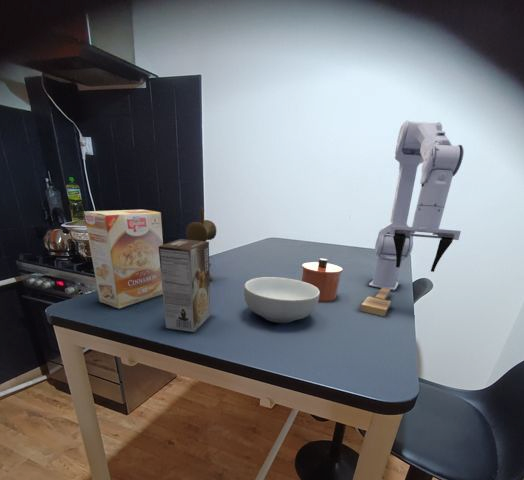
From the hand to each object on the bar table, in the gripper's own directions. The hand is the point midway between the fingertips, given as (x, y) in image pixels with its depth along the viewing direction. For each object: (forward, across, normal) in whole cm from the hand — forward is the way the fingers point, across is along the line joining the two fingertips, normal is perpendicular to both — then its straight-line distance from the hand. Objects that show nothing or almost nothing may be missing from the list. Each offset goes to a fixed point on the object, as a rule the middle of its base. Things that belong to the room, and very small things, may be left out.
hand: (414, 269), depth 76 cm
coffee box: (+14, -39, -36) cm, 55 cm away
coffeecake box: (+12, -59, -32) cm, 68 cm away
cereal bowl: (+13, -25, -21) cm, 35 cm away
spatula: (+10, -7, +4) cm, 13 cm away
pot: (+10, -23, 0) cm, 25 cm away
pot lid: (+3, -22, -1) cm, 23 cm away
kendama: (+10, -56, -9) cm, 57 cm away
